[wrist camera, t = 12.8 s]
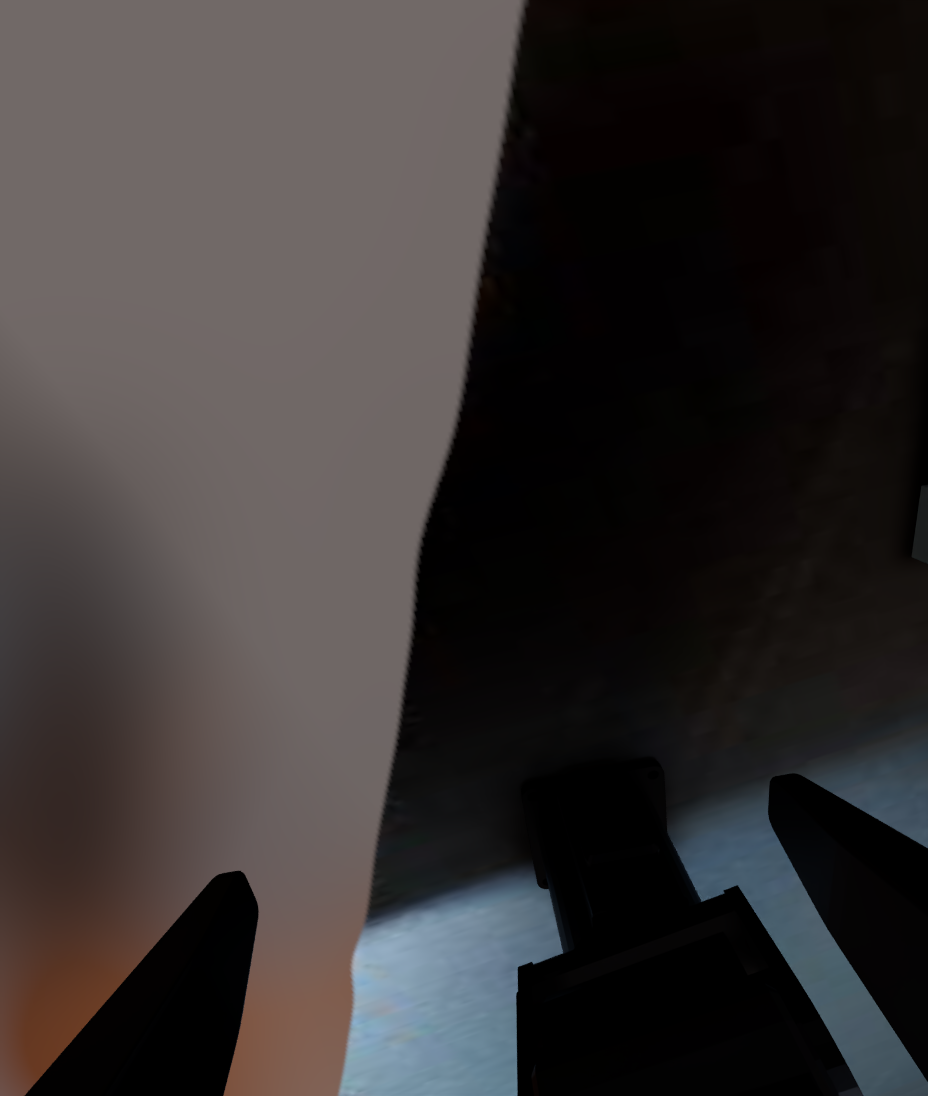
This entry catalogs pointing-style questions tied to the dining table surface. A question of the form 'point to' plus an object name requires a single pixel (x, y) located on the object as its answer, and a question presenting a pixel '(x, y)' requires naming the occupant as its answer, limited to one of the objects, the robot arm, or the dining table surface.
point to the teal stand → (921, 528)
